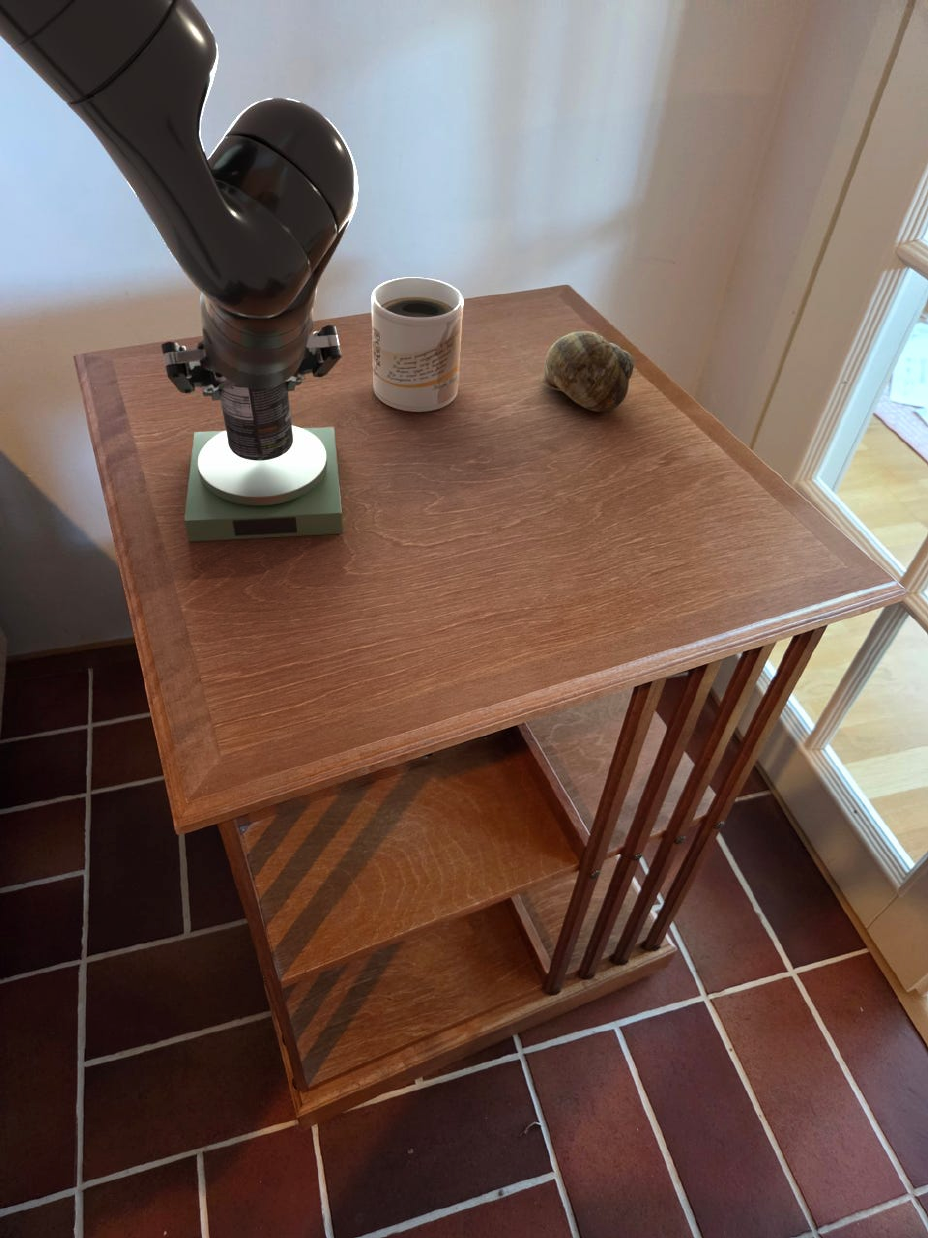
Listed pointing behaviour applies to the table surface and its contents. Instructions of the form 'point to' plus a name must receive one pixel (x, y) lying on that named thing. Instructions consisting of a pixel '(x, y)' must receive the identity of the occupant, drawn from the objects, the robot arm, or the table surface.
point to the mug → (416, 343)
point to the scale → (263, 489)
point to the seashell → (588, 370)
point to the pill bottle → (257, 421)
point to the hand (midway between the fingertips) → (250, 384)
